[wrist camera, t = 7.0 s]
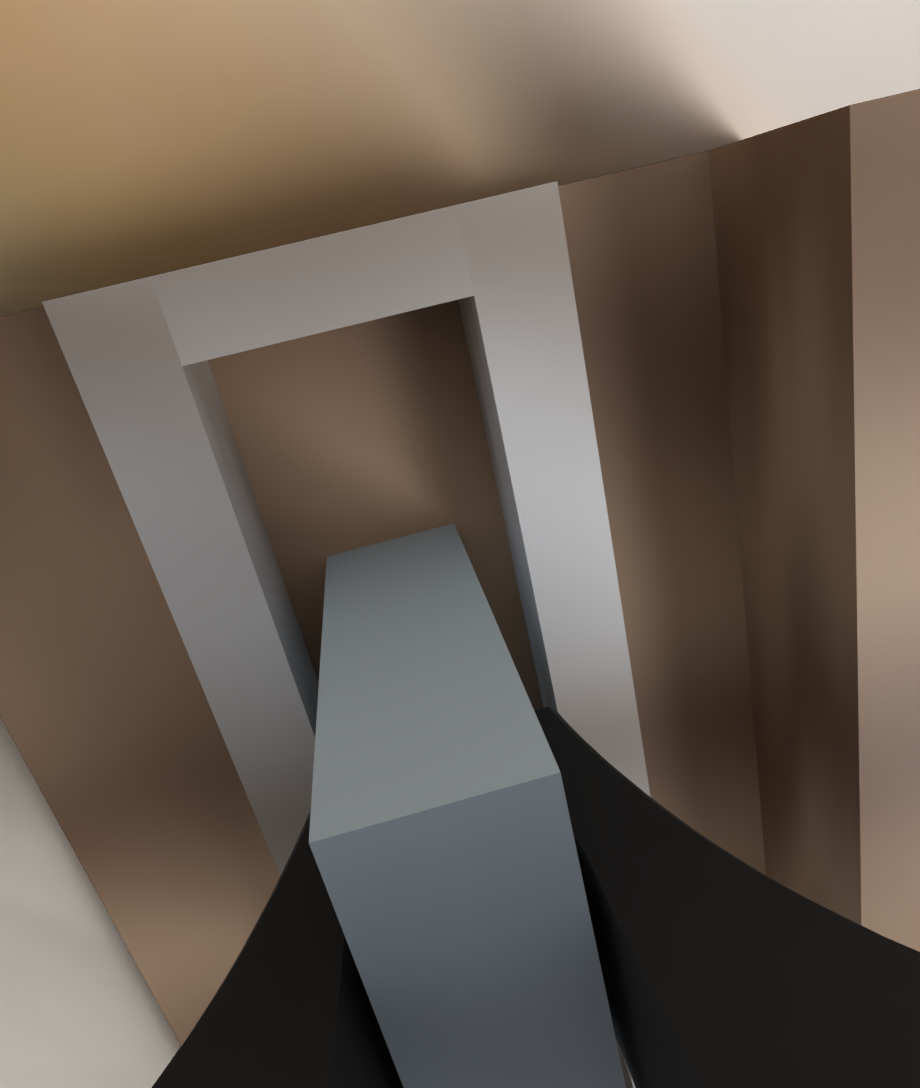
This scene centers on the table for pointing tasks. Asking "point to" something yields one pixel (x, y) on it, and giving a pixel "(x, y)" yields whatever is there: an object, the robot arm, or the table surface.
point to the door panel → (450, 832)
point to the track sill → (489, 517)
